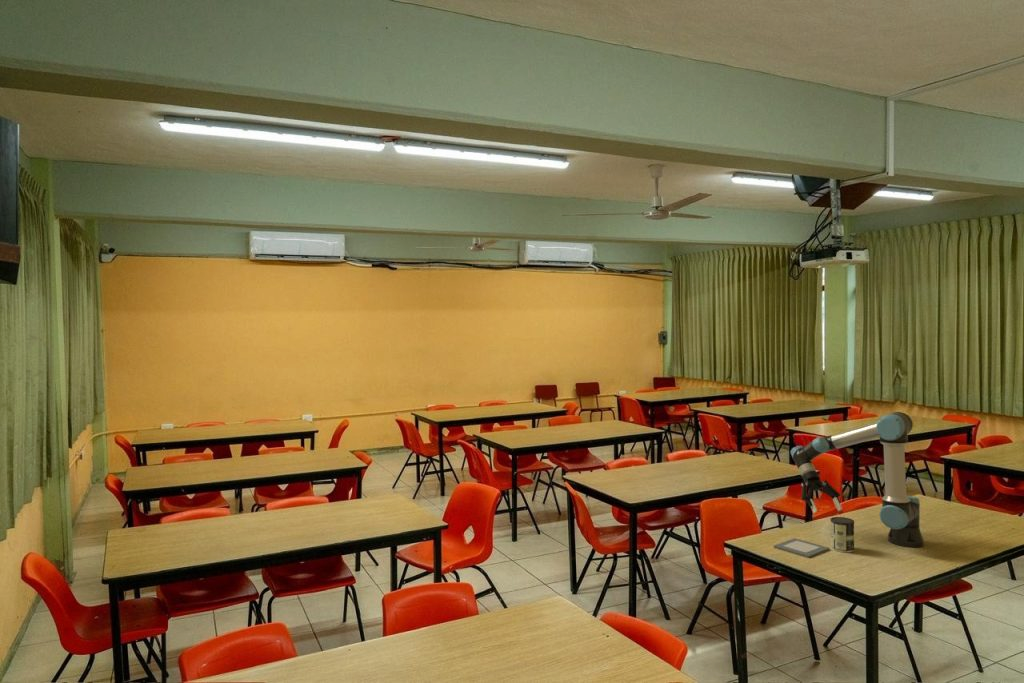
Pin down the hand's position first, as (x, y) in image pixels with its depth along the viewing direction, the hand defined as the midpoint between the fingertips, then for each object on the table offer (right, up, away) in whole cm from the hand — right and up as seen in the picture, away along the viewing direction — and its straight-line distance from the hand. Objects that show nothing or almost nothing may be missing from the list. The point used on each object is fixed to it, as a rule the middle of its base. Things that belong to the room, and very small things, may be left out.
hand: (828, 511), depth 328 cm
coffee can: (+2, -16, -9) cm, 19 cm away
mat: (-17, -16, -8) cm, 25 cm away
